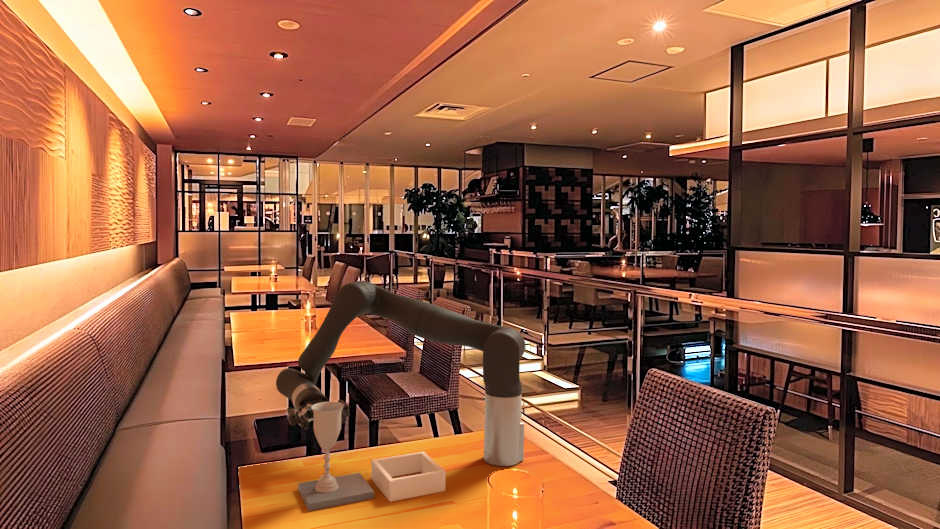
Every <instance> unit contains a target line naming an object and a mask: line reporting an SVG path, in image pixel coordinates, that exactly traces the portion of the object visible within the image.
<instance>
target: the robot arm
mask: <svg viewBox="0 0 940 529" xmlns="http://www.w3.org/2000/svg"><path fill="white" fill-rule="evenodd" d="M332 301H333V302H332V303H331V306H330V308H329V310H328V312H327V313H326V316H325V317H324V320H323V322H322V323H321V325H320V327H319V328H318V330H317V332H316V333H315V334H314V336H313V337H312V339H311V340H310V342H309V343H308V345H307V346H306V347H305V349H304V350H303V351H302V353H301V355H299V358H298V360H297V364H298V367H299V368H300V369H301V370H302V371H303V372H302V371H299V370H297V369H295V368H289V367H288V368H284V369H283V370H281V371H280V372H279V373H278V375H277V377H276V380H275V387H276V390H277V391H278V392H279V393H280V394H281V395H282V396H284V397H286V398H287V399H288V400H290V401H291V402H292V405H293V407H294V408H293V407H287V408H286V412H287V413H286V416H287V418H286V419H287V420H288V423H289V425H290V426H291V427H293V426H296V424H298V425H299V426H300V427H301V428H302V429H304V430H309V428H310V424H309V423H310V422H314V412H313V410H312V408H311V406H312V405H314V404H317V403H321V402H329V400H328V398H327V397H326V395H325V394H324V393H323V392H322V390H321V389H320V388H319V387H317V386H316V384H317V382H318V379H319V376H320V374H321V372H322V371H323V369H324V367H325V366H326V364H327V363H328V362H329V360H330V359H331V357H332V355H333V354H334V352H335V351H336V349H337V345H338V343H339V341H340V338H341V336H342V334H343V333H344V331H345V329H346V328H347V327H349V325H350V324H351V323H352V322H353V321H354V320H355V319H356V318H357V317H360V316H363V315H372V316H376V317H381V318H385V319H387V320H390V321H392V322H394V323H395V324H397V325H398V326H399V327H401V328H402V329H403V330H404V331H406V332H408V333H410V334H411V335H414V336H416V337H419V338H421V339H425V340H427V341H430V342H434V343H439V344H443V345H451V346H453V345H454V346H462V347H468V348H472V349H475V350H478V351H481V352H482V380H483V385H484V429H483V430H484V432H483V433H484V434H483V435H484V436H483V437H484V438H483V440H484V441H483V446H484V447H483V461H484V462H485V463H487V464H489V465H492V466H497V467H499V466H500V467H509V466H514V465H517V464H519V463H520V462H522V461H523V462H524V460H525V459H524V453H525V451H524V450H525V448H524V447H525V446H524V445H525V423H524V422H523V421H522V400H523V399H522V394H523V392H522V391H523V389H522V388H523V385H522V384H523V383H522V381H521V379H520V360H521V358H522V357H523V355H524V353H525V351H526V341H525V338H524V337H523V335H522V333H520V332H519V331H518V330H516V329H514V328H512V327H508V326H502V325H498V324H493V323H489V322H484V321H480V320H478V319H475V318H472V317H469V316H467V315H464V314H462V313H459V312H456V311H453V310H451V309H448V308H445V307H442V306H439V305H436V304H434V303H433V304H432V303H431V302H427V301H423V300H420V299H416V298H412V297H409V296H405V295H401V294H397V293H394V292H392V291H390V290H388V289H385V288H384V287H381V286H379V285H377V284H374V283H372V282H370V281H366V280H357V281H352V282H348V283H346V284H344V285H342V286H341V287H340V289H338V291H337V293H336V295H335V297H334V300H332ZM337 402H340V403H342V404H344V406H343V409H342V411H341V424H346V422H347V419H348V417H350V405H349V404H348V403H346V402H345V401H344V400H343V399H338V400H337Z"/></svg>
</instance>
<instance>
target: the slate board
mask: <svg viewBox="0 0 940 529" xmlns="http://www.w3.org/2000/svg"><path fill="white" fill-rule="evenodd" d="M334 478H335V479H336V482H337V485H338V486H339V488H338V489H337V490H335V491H333V492H327V493H322V492H318V491H316V490H315V487H316V485H317V482H318V480H319V479H316V480H315V479H314V480H309V481H303V482H299V483H297V490H298V494H299V495H300V497H301V499H302V500H303V503H304V504H305V507H306V508H307V510H308V512H311V511H316V510H321V509H327V508H331V507H336V506H341V505H342V506H343V505H347V504H351V503H357V502H363V501H367V500H371V499H375V491H374V489H373V488H372V487H371V485H370V484H369V483H368V482H367V480H366V479H365V478H364V477H363V475H362V474H361V472H356V473H351V474H346V475H345V474H344V475H340V476H334Z"/></svg>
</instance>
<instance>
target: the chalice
mask: <svg viewBox="0 0 940 529" xmlns="http://www.w3.org/2000/svg"><path fill="white" fill-rule="evenodd" d="M343 406H344V404H342V403H340V402H338V401H328V402H321V403H317V404H314V405H312V406H311V408H312V410H313V412H314V421H313V432H314V433H313V434H314V436H315V438H316V441H317V443H318V445H319V446H320V448H321V449H323V450H324V456H323V459H324V464H323V465H322V467H323V469H324V474H323V475H321V476H320V477H319V478H318V479H317V480H318V482H317V485H316V487H315V490H316V491H318V492H322V493H327V492H333V491H335V490H337V489H338V488H339V486H338V485H337V482H336V479H335V478H334V477H335V476H334V475H332V474H331V473H330V468H331V466H332V464H331V463H330V459H331V457H332V456H331V454H330V449H333V448H334V447H335V445H336V442H337V441H338V438H339V435H340V433H341V430H342V423H341V411H342V409H343Z"/></svg>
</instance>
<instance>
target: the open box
mask: <svg viewBox="0 0 940 529" xmlns="http://www.w3.org/2000/svg"><path fill="white" fill-rule="evenodd" d="M415 473H417V474H415ZM446 473H447V472H446V470H445V469H444V468H443V467H442V466H441V465H440V464H438V463H437V462H436V461H435V460H434V459H433V458H432V457H431V456H429V455H428V454H427V452H425V451H423V450H422V451H417V452H411V453H405V454H399V455H393V456H388V457H387V456H386V457H382V458H381V457H380V458H375V459H374V458H373V459H371V472H370V477H371V478H370V479H371V481H372V482H373V483H374V484H375V485H376V486H377V488H378V489H379V490H380V491H381V493H382V495H383V496H385V498H386V499H387V500H388V501H389V502H395V501H401V500H405V499H411V498H416V497H421V496H426V495H431V494H437V493H441V492H445V491H446V485H447V484H446V480H447V479H446V477H447V476H446V475H447V474H446ZM410 474H413V475H410ZM406 475H407V476H406ZM399 476H400V477H399ZM394 477H396V478H394Z"/></svg>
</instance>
